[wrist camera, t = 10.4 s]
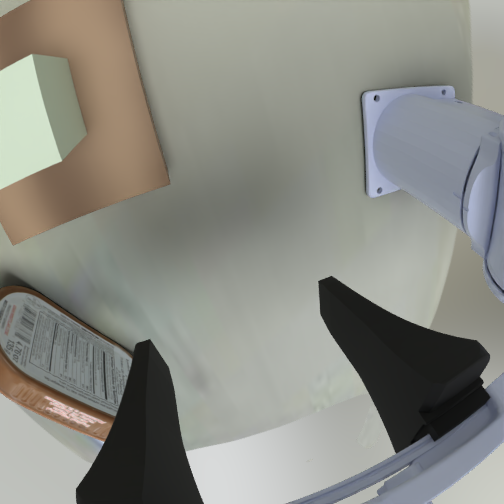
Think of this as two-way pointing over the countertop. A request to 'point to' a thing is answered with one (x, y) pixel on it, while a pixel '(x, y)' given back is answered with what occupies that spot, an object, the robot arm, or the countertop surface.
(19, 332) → the tin
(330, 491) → the robot arm
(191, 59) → the countertop surface
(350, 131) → the countertop surface
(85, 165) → the walnut block
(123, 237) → the countertop surface
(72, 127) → the sage cube
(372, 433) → the countertop surface
